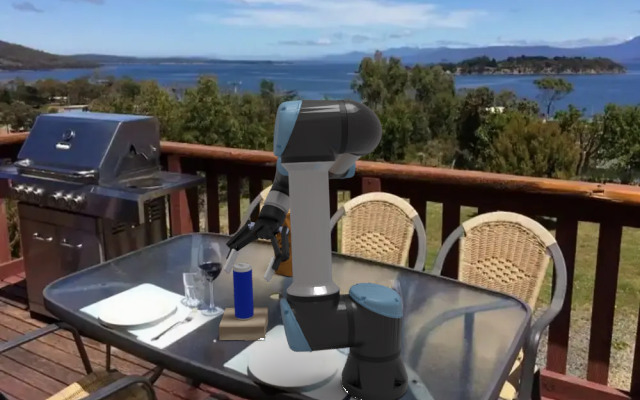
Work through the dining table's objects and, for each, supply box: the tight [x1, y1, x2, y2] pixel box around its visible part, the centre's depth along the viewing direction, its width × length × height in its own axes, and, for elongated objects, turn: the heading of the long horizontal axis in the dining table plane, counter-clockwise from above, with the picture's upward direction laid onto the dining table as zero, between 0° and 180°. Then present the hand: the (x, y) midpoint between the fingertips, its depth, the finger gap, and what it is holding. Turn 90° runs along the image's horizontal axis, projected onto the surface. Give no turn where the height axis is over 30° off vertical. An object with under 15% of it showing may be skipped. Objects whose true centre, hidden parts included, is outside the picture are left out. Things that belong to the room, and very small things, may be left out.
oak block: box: [218, 307, 269, 341], centre depth 157 cm, size 12×12×4 cm
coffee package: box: [273, 212, 293, 278], centre depth 200 cm, size 10×12×22 cm
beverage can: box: [232, 262, 255, 320], centre depth 155 cm, size 5×5×15 cm
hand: (246, 275), depth 156 cm, fingers open, 13 cm apart
